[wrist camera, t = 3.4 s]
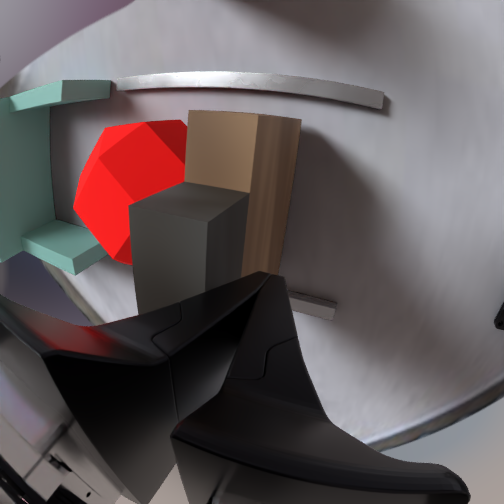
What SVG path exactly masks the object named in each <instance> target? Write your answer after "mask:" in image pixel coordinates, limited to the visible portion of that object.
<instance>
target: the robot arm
mask: <svg viewBox="0 0 504 504" xmlns="http://www.w3.org/2000/svg"><path fill="white" fill-rule="evenodd" d="M500 321H501V322H500ZM499 322H500V323H499ZM494 325H495V327H496V328H497V329H501V330H504V303H503V305H502V307H501V309H500V311H499V313H498V314H497V316H496V318H495V320H494ZM176 463H177V466H178V469H179V473H180V476H181V480H182V483H183V486H184V489H185V492H186V495H187V498H188V501H189V504H468V502H469V501H470V497H471V495H470V493H469V490H468V488H467V486H466V484H465V483H464V481H463V480H462V479H461V478H460V477H459V476H458V475H457V474H455V473H454V472H452V471H451V470H449V469H448V468H447V467H445V466H442V465H439V464H432V463H416V462H407V461H402V460H398V459H394V458H391V457H389V456H386V455H384V454H382V453H380V452H378V451H376V450H374V449H373V448H371V447H369V446H368V445H366V444H364V443H363V442H361V441H359V440H358V439H356V438H354V437H353V436H351V435H350V434H348V433H346V432H345V431H343V430H342V429H340V428H339V427H337V426H336V425H334V424H333V423H332V422H331V421H330V419H329V418H328V417H327V415H326V413H325V411H324V409H323V407H322V405H321V402H320V400H319V397H318V395H317V392H316V390H315V388H314V385H313V383H312V380H311V378H310V376H309V373H308V371H307V368H306V365H305V362H304V360H303V356H302V352H301V348H300V344H299V340H298V336H297V331H296V326H295V322H294V317H293V313H292V308H291V304H290V299H289V295H288V291H287V286H286V282H285V278H284V277H283V276H279V275H275V274H272V275H271V274H270V273H267V272H263V271H257V272H254V273H252V274H249V275H247V276H244V277H242V278H239V279H237V280H234V281H231V282H229V283H226V284H224V285H221V286H218V287H216V288H213V289H211V290H208V291H205V292H203V293H200V294H198V295H195V296H192V297H190V298H187V299H184V300H182V301H180V303H179V302H176V303H174V304H171V305H168V306H165V307H163V308H160V309H157V310H154V311H150V312H147V313H144V314H140V315H137V316H133V317H129V318H125V319H122V320H118V321H114V322H110V323H106V324H102V325H98V326H90V327H87V326H86V327H85V326H78V325H73V324H70V323H68V322H65V321H62V320H59V319H57V318H53V317H51V316H48V315H46V314H43V313H40V312H38V311H35V310H33V309H30V308H27V307H25V306H23V305H20V304H18V303H16V302H14V301H11V300H9V299H7V298H6V297H4V296H2V295H0V504H27V503H26V502H28V503H29V504H115V502H116V501H117V500H118V498H119V497H120V495H123V496H124V497H126V498H128V499H130V500H131V501H133V502H135V503H137V504H148V503H149V502H150V501H151V499H152V498H153V496H154V495H155V493H156V492H157V490H158V489H159V488H160V486H161V485H162V483H163V482H164V480H165V479H166V477H167V476H168V474H169V473H170V471H171V470H172V468H173V467H174V465H175V464H176ZM22 498H23V499H25V501H26V502H25V501H23V500H22Z"/></svg>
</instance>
